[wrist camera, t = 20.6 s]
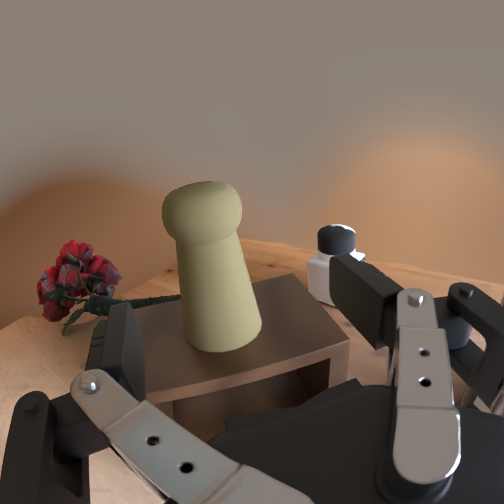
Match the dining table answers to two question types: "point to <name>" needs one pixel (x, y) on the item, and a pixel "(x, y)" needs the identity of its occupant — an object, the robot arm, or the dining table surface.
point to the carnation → (83, 285)
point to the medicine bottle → (329, 244)
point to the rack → (243, 360)
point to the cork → (211, 266)
